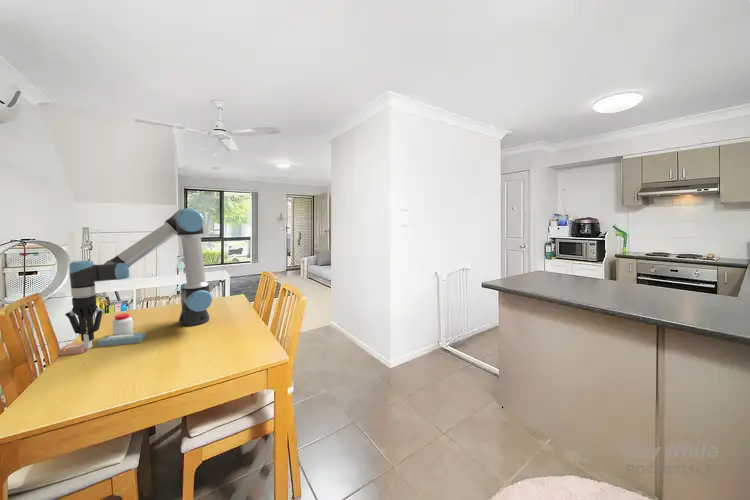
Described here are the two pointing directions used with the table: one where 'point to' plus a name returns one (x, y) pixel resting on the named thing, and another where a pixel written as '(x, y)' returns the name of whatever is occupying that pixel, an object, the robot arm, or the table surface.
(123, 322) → the pill bottle
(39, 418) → the table surface
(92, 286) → the robot arm
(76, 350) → the pink labeled box
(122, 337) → the blue labeled box
